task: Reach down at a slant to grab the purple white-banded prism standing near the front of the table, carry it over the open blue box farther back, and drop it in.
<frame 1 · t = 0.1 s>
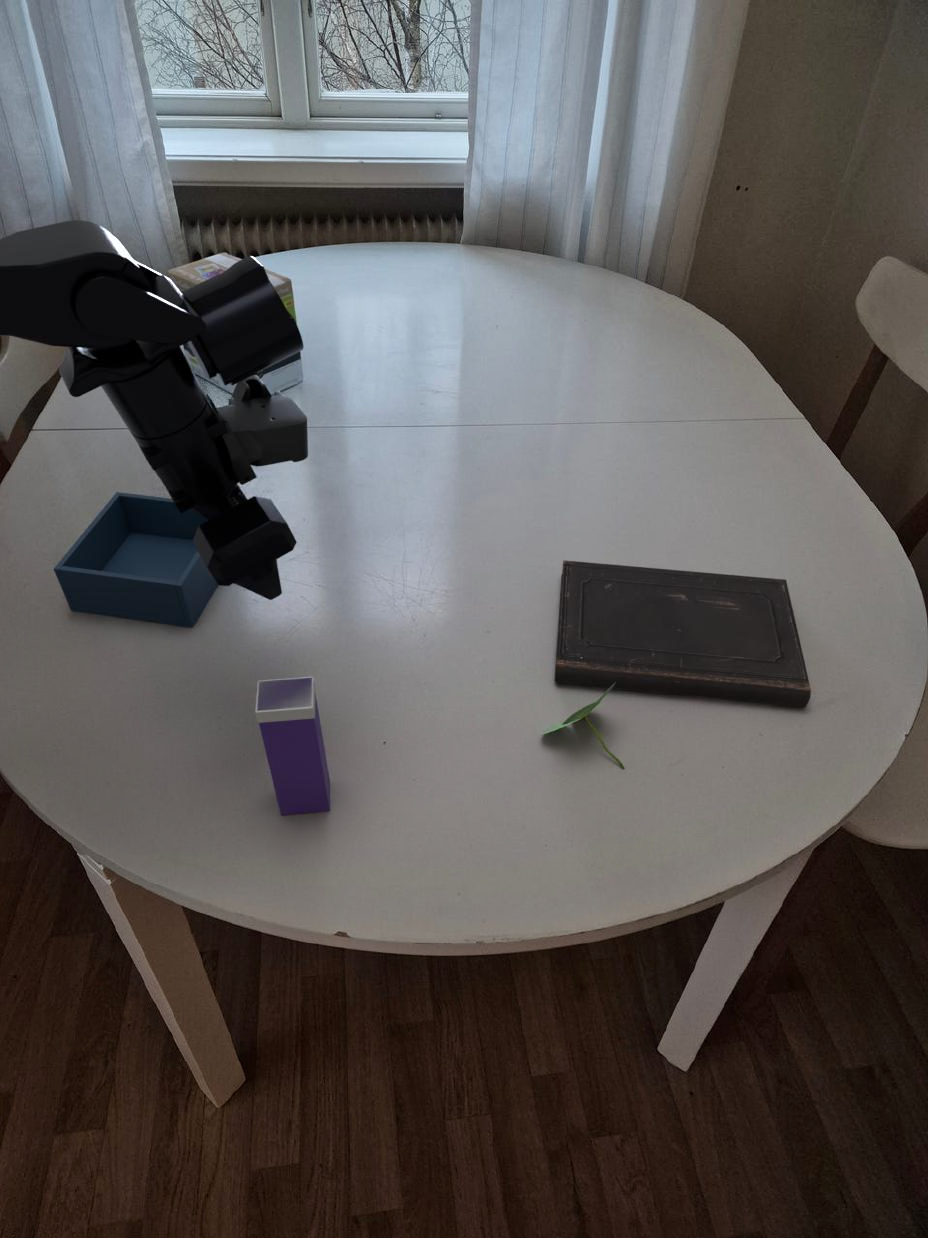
hand: (255, 563, 71), 14 cm above the table, tool pointing down, fingers open, 9 cm apart
purple white-banded prism: (305, 798, 71), on the table
hardcover book: (673, 639, 86), on the table
tea box: (246, 377, 124), on the table
seedling: (580, 745, 76), on the table
open blue box: (159, 577, 92), on the table
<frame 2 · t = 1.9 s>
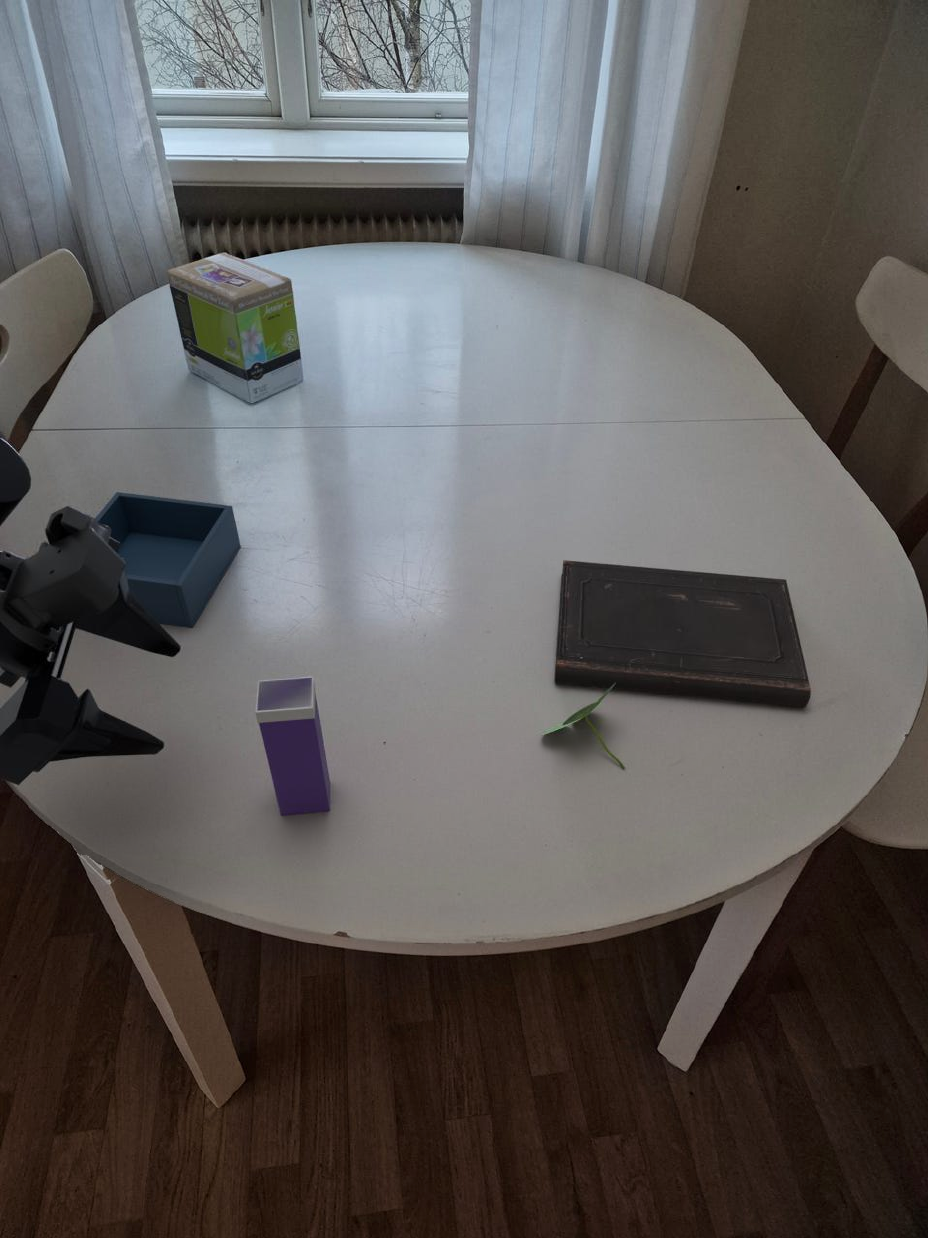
hand: (169, 698, 62), 13 cm above the table, tool tilted 45°, fingers open, 9 cm apart
nothing on the table moved.
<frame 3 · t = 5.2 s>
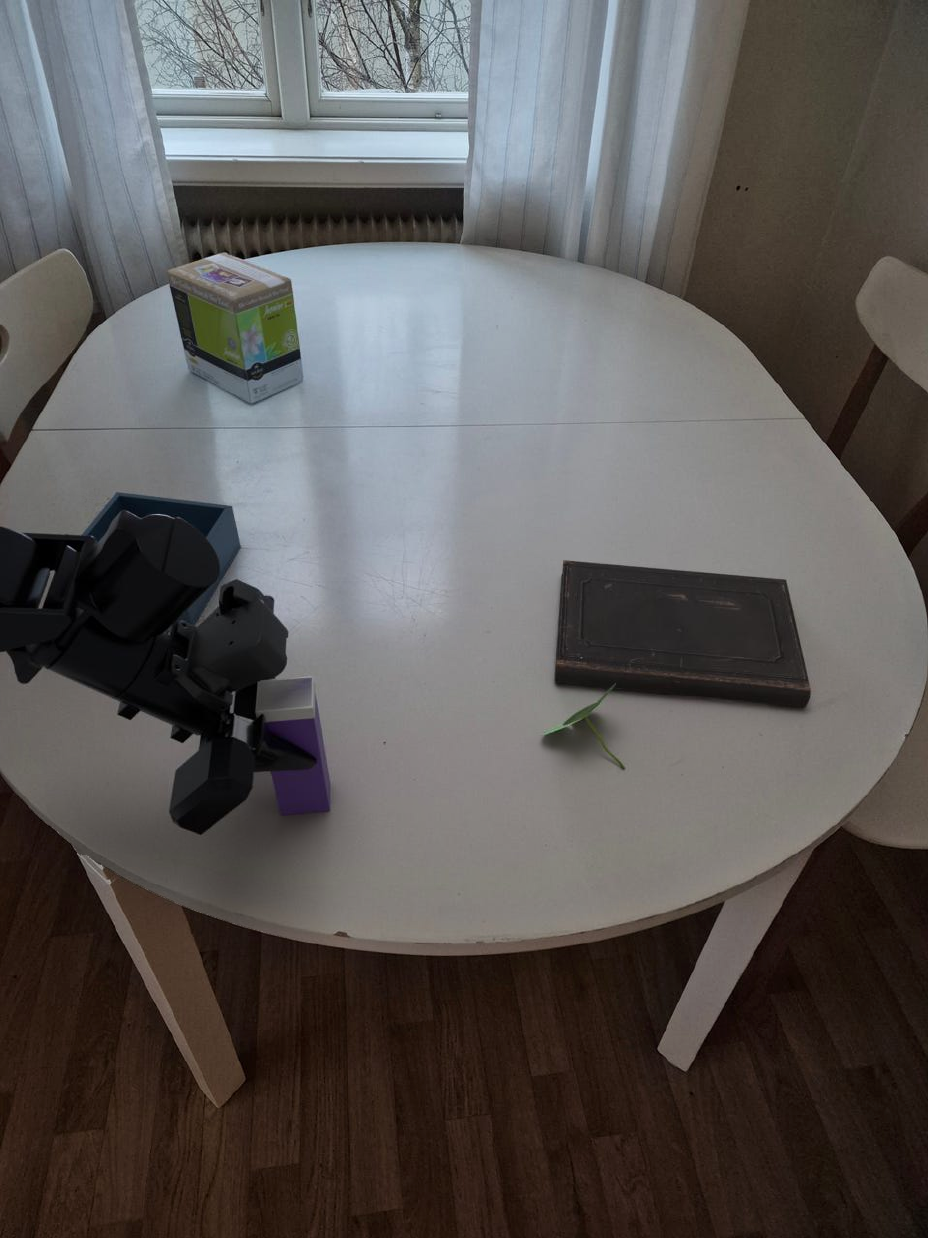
hand: (313, 747, 67), 7 cm above the table, tool tilted 45°, fingers closed on purple white-banded prism, 3 cm apart
purple white-banded prism: (305, 798, 71), on the table, touching gripper
everything else where it was.
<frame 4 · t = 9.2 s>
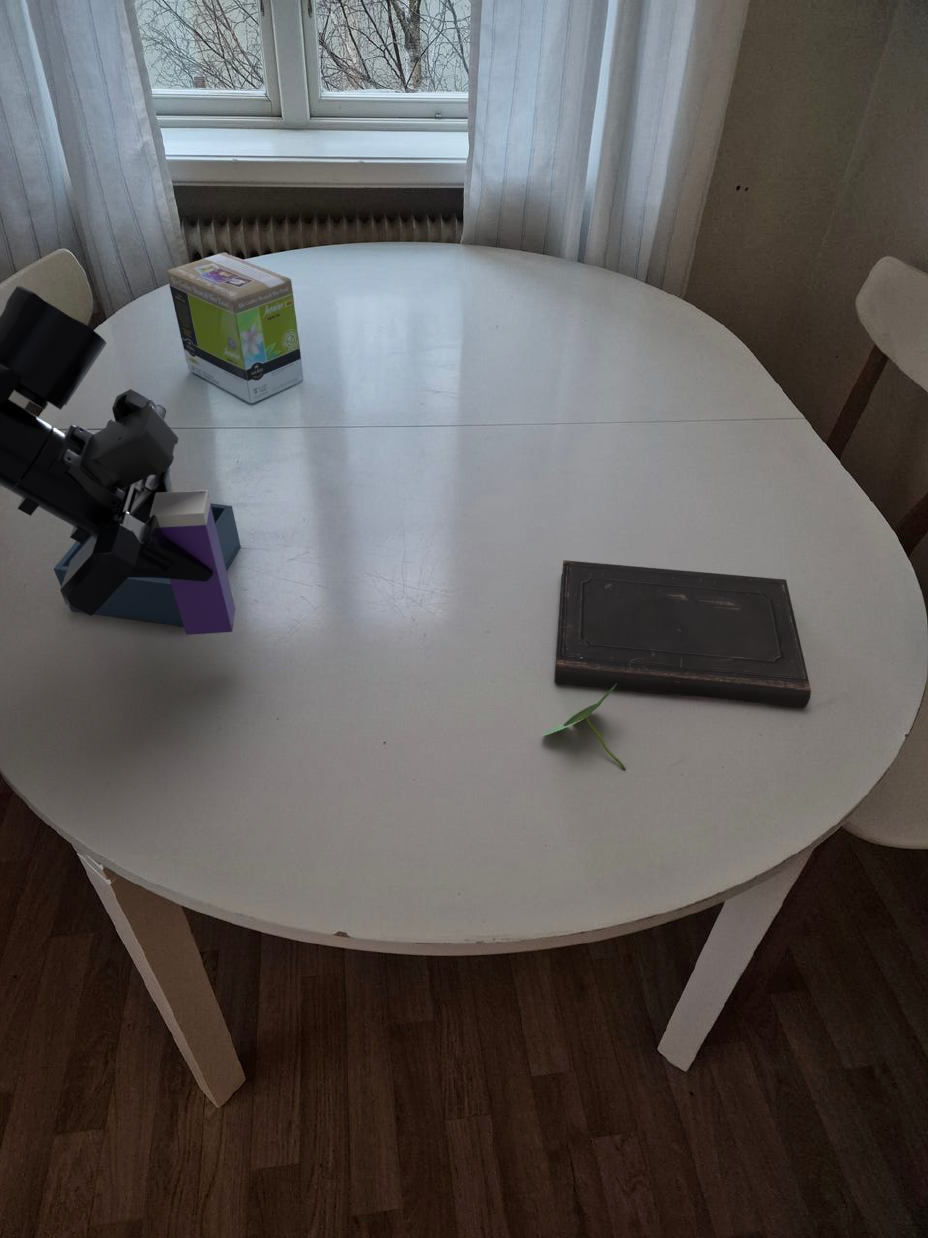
hand: (212, 564, 72), 14 cm above the table, tool tilted 45°, fingers closed on purple white-banded prism, 3 cm apart
purple white-banded prism: (211, 622, 76), point 7 cm above the table, touching gripper
everything else where it was.
when the fingers open (9 cm above the table, at t = 13.2 s): purple white-banded prism drops 1 cm, resting on open blue box.
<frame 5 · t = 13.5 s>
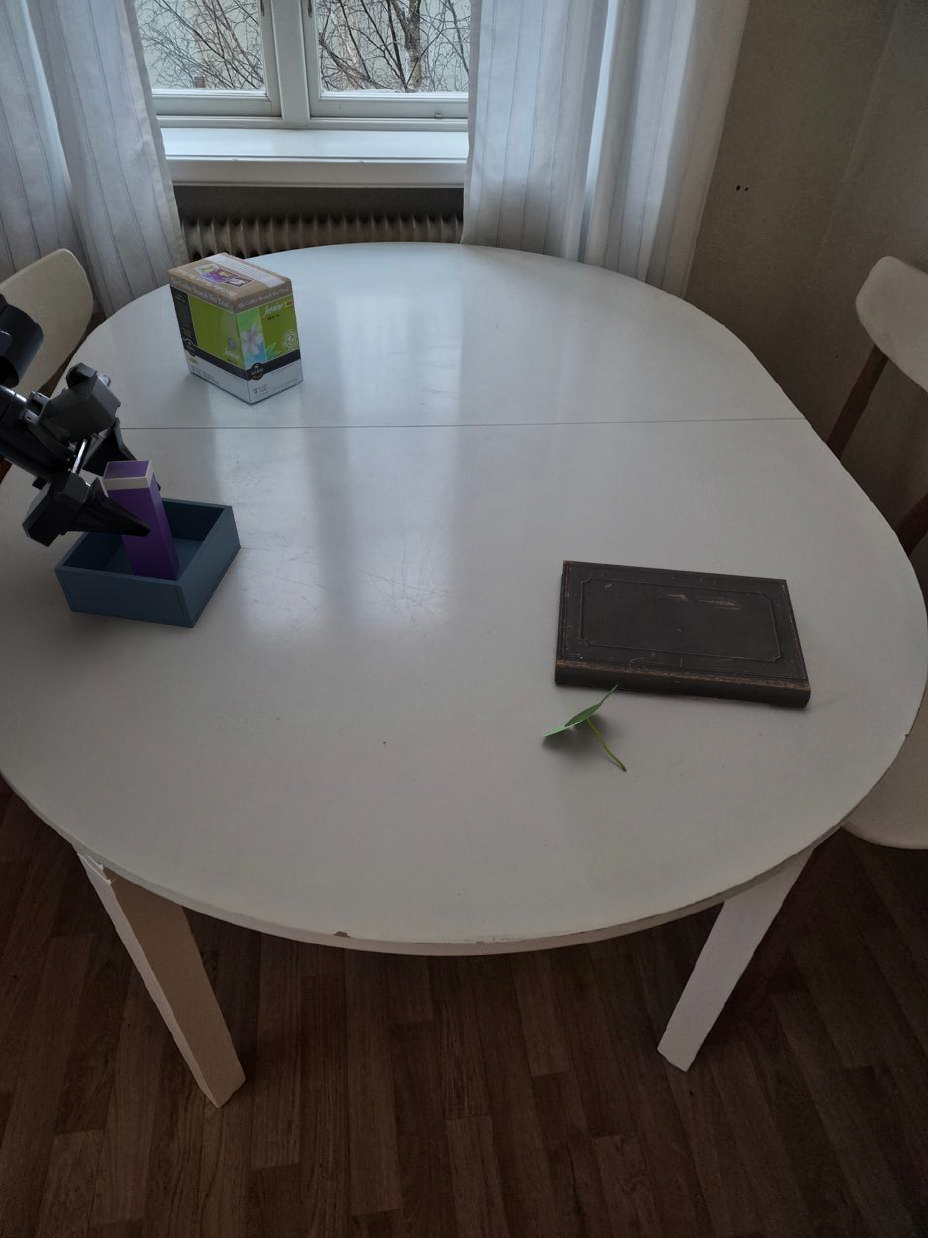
hand: (153, 511, 86), 9 cm above the table, tool tilted 45°, fingers open, 7 cm apart
purple white-banded prism: (158, 573, 91), point 1 cm above the table, touching open blue box
everything else where it was.
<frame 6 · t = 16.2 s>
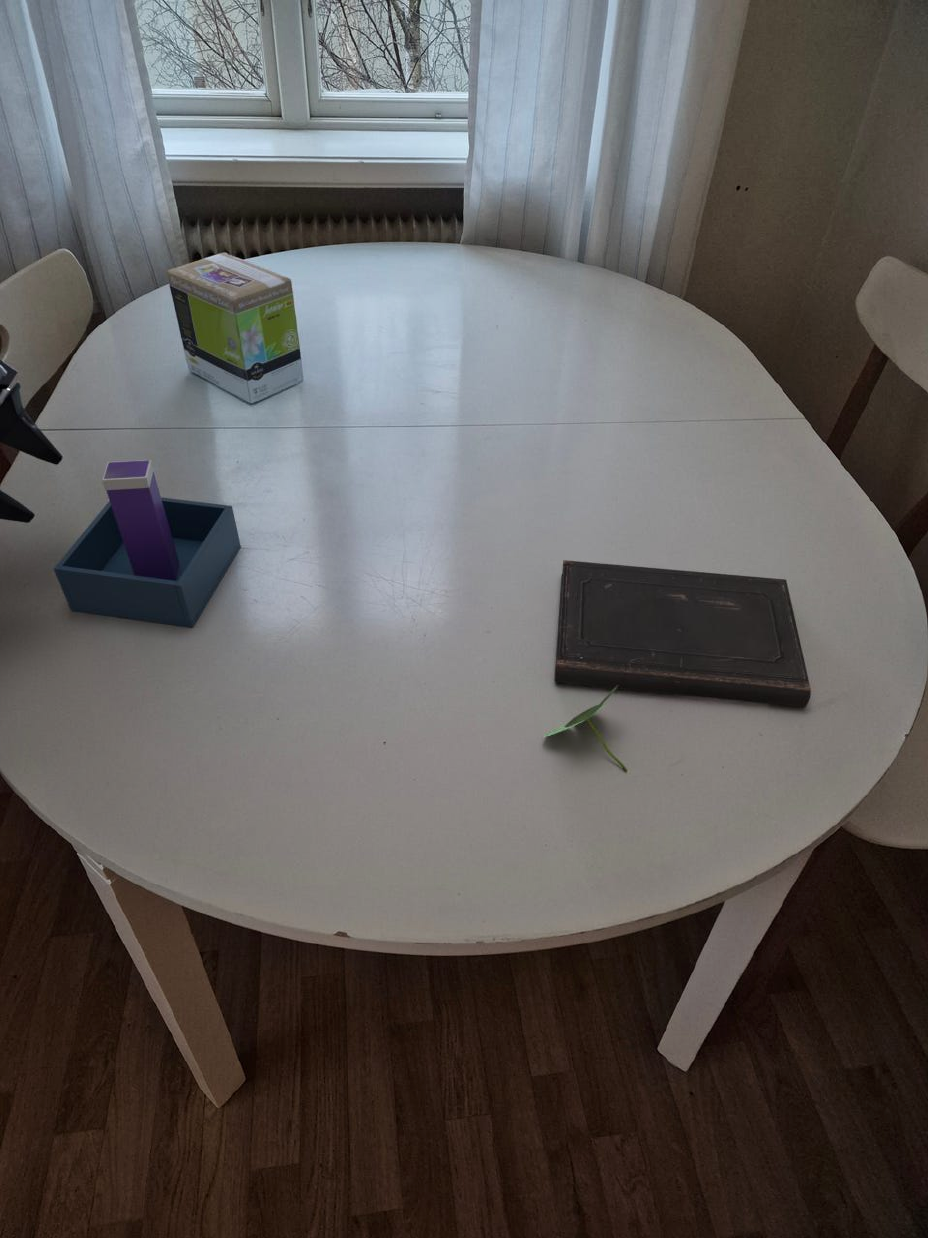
hand: (46, 488, 82), 12 cm above the table, tool tilted 45°, fingers open, 9 cm apart
nothing on the table moved.
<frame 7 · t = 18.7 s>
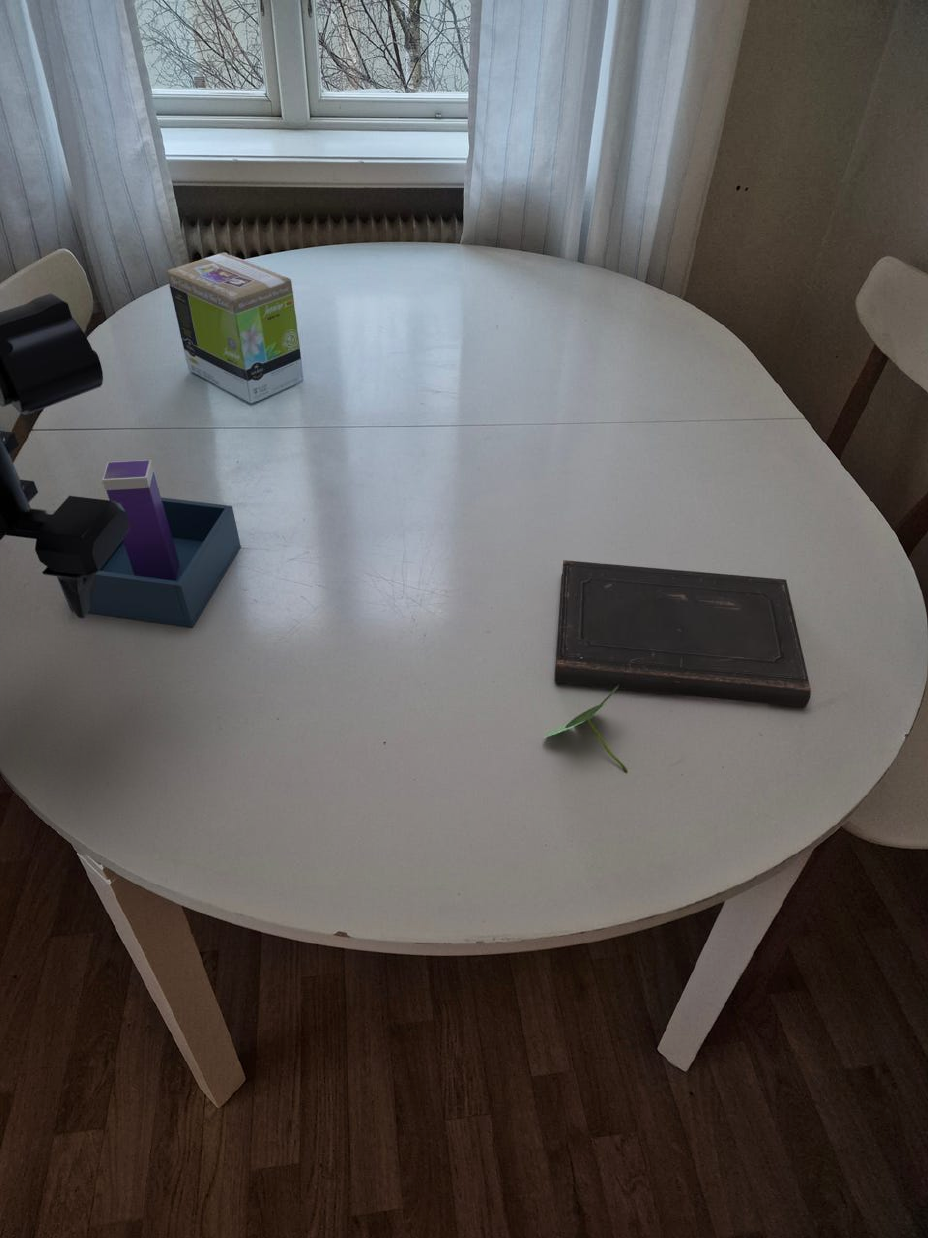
hand: (31, 607, 69), 13 cm above the table, tool pointing down, fingers open, 9 cm apart
nothing on the table moved.
at the end: purple white-banded prism inside the target area in the open blue box (0.1 cm from its centre), point 0.6 cm above the open blue box's base; the gripper is holding nothing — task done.
